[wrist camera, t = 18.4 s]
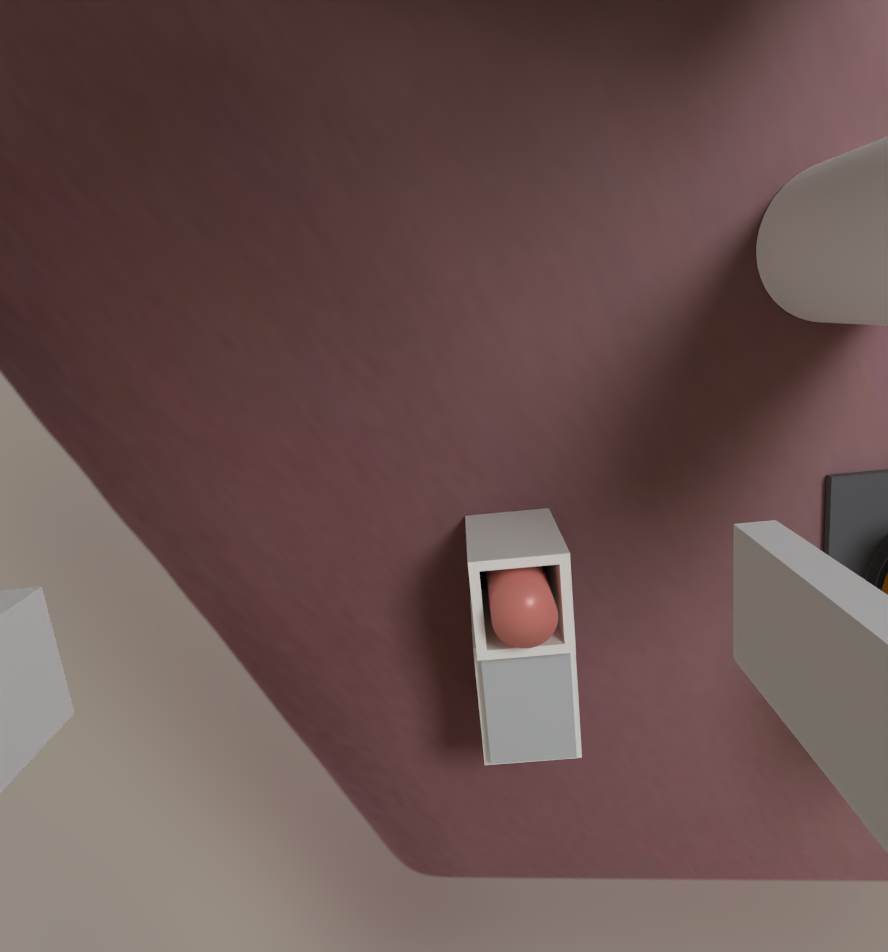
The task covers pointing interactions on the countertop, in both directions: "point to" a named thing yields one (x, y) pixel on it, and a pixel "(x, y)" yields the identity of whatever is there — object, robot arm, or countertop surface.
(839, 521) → the drip mat
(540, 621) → the salmon pink capsule
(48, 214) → the countertop surface
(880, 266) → the cylinder container
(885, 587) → the canister
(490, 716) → the white rectangular box
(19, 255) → the countertop surface
